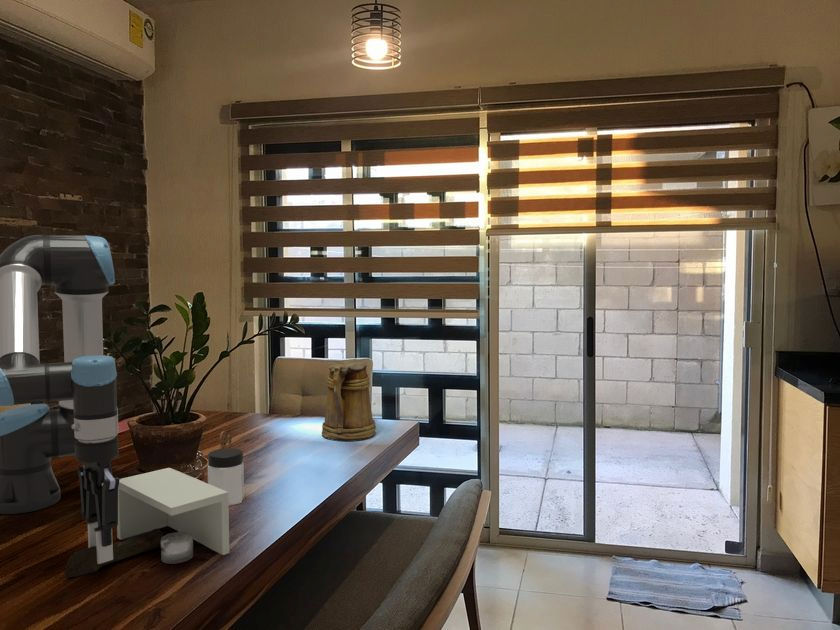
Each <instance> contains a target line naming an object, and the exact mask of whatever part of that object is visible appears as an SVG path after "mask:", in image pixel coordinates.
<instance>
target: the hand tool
mask: <svg viewBox="0 0 840 630" xmlns="http://www.w3.org/2000/svg"><path fill="white" fill-rule="evenodd" d="M163 536H165V535H164V532H163V531H162V530H161V529H160V528H159V529H154V530H152V531H148V532H145V533H142V534H138V535H135V536H132V537H128V538H126V539H124V540H121V541H118V542H116V543H113V560H110V561H107V562H104V563H101V564H98V563H97V547H96V546H93V547H90V548H89V547H88V548H83V549H80V550H77V551H75V552H73V553H72V554H71V555H70V556H69V558H68V560H67V563H66V564H65V567H64V575H65V578H76V577H80V576H84V575H88V574H91V573H95V572H98V571H100V569H101V568H102V567H104V566H108V565H109V564H112V563H113V564H114V563H115V562H118V561H121V560H124V559H128V558H131V557H133V556H137V555H140V554H143V553H146V552H150V551H152V550H155V549H160V550H161V538H162V537H163Z"/></svg>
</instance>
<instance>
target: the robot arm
mask: <svg viewBox="0 0 840 630" xmlns="http://www.w3.org/2000/svg"><path fill="white" fill-rule="evenodd" d="M114 284H116V278H115V269H114V264H113V257H112V253H111V249H110V245H109V242H108V241H107V239H105V238H104V237H102V236H96V235H76V234H74V235H71V234H70V235H69V234H68V235H63V234H62V235H59V234H58V235H57V234H55V235H49V234H48V235H47V234H46V235H43V234H33V235H29V236H25V237H22V238H20V239H18V240H17V241H15V242H13V243H12V244H10V245H9V246H7V247H6V248H5V249H4V250H3V251H2V252H1V254H0V407H5V406H9V407H10V406H11V407H12V406H15V405H16V406H17V405H21V406H19V407H18V406H17V407H14V408H10V409H7V410H5V411H2V412H1V413H0V515H17V514H24V513H31V512H35V511H39V510H43V509H46V508H49V507H51V506H53V505H55V504H57V503H58V502H60V500H61V499H62V496H61V487H60V485H59V483H58V481H57V478H56V475H55V473H54V471H53V468H52V458H61V457H69V456H74V459H75V460H76V462H77V463H82V464H83V465H80V466H77V474H78V478H79V492H80V493H79V494H80V506H81V516H82V518H85V523H87V542H88V543H87V544H88V545H87V547H88V548H90V547H93V546H96V547H97V563H98V564H101V563H104V562H107V561H110V560H113V544H114V543H113V540H114V539H113V528H117V526H118V487H119V479H120V478H119V476H115V477H114V476H113V474H114V473H113V468H112V463H111V462H112V460H114V459H116V458H117V457H118V456H119V453H120V452H119V451H120V450H119V438H118V434H119V411H118V410H119V409H118V405H117V404H118V403H117V402H118V401H117V396H118V393H117V377H118V373H117V369H116V360H115V358H114V357H113V356H111V355H104V339H103V337H104V336H103V332H104V329H103V298H104V297H105V296H106V295H107V294H109V286H112V285H114ZM44 285H45V286H54V288H53V289H54V294H55V295H57V296H58V297H59V298H60V299H61V302H62V303H61V304H62V306H61V307H62V326H63V327H62V330H63V331H62V334H63V353H64V355H63V357H64V362H51V363H50V362H49V363H41V362H40V361H41V360H40V336H39V331H40V330H39V309H38V308H39V306H38V291H40V289H41V287H42V286H44ZM48 402H49V403H50V402H52V403H53V402H58V408H57V409H51V408H50V406H49V405H48Z"/></svg>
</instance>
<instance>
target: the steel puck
mask: <svg viewBox="0 0 840 630" xmlns="http://www.w3.org/2000/svg"><path fill="white" fill-rule="evenodd" d="M193 557H194V540H193V535H192V534H191V533H188V532H179V531H175V532H170V533H167V534H165V535H164V536H163V537H162V538H161V549H160V560H161V562H163V563H165V564H172V565H174V564H175V565H176V564H180V563H184V562H187V561H189V560H191V559H192V558H193Z"/></svg>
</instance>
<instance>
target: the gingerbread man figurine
mask: <svg viewBox="0 0 840 630" xmlns="http://www.w3.org/2000/svg"><path fill="white" fill-rule="evenodd" d="M218 440H219V445H218V446H217V448H216V450H218V449H226V448H230V447H231V445H232V440H233V437H232V435H231V434H228V432H227V431H225V430H223V431H221V432H220V434H219V439H218Z"/></svg>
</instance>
